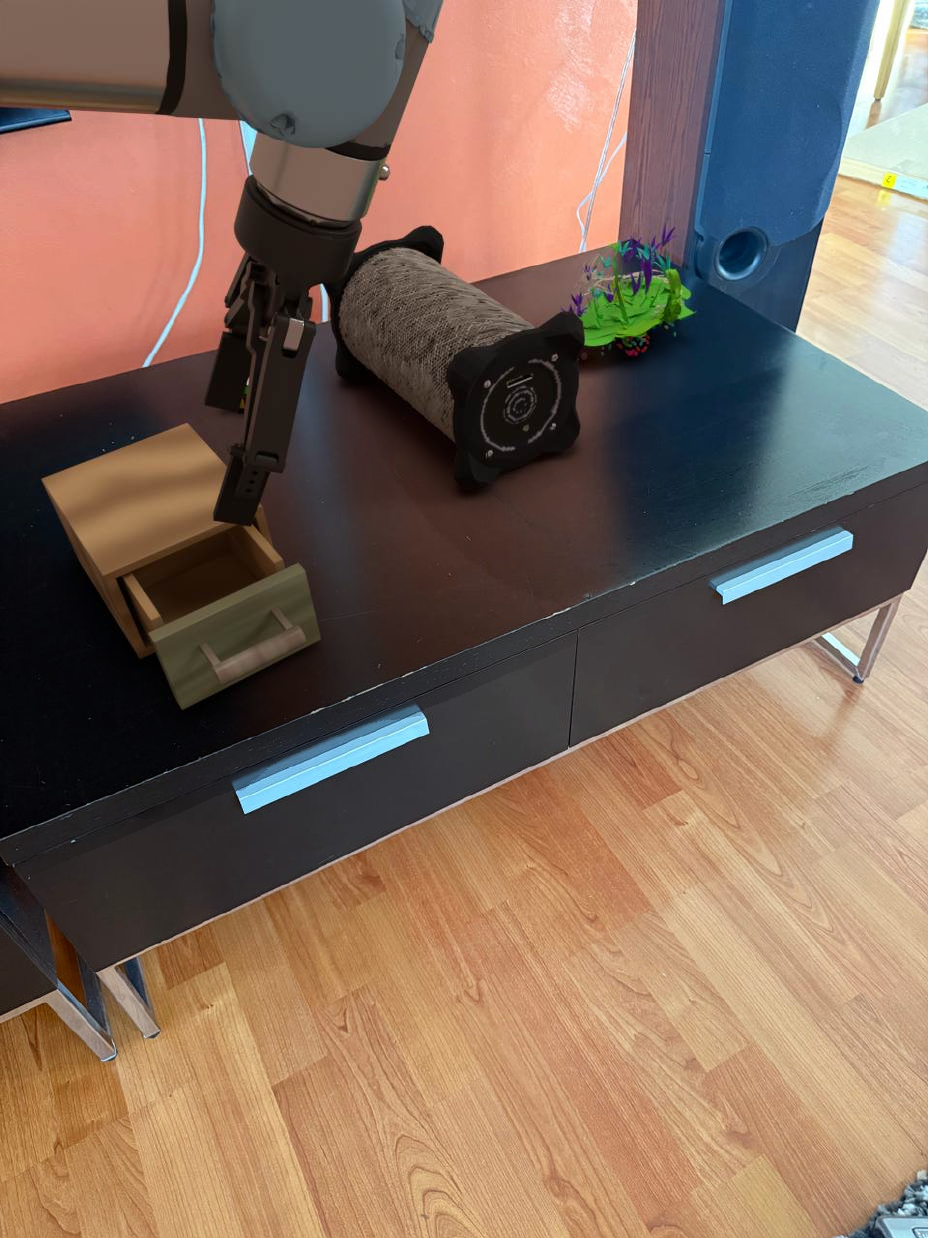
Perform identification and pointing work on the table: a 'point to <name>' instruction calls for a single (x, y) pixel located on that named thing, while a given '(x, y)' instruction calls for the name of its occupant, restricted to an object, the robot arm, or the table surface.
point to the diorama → (631, 299)
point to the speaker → (458, 355)
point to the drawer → (220, 611)
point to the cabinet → (140, 511)
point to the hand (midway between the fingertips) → (226, 460)
